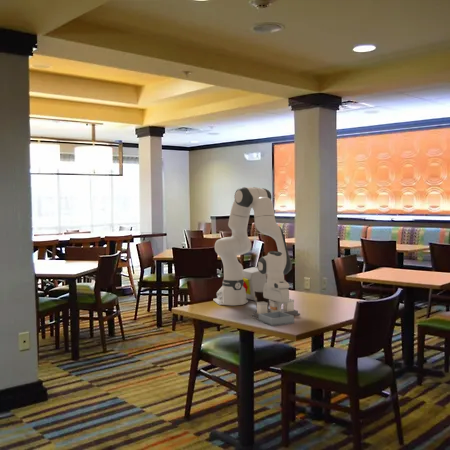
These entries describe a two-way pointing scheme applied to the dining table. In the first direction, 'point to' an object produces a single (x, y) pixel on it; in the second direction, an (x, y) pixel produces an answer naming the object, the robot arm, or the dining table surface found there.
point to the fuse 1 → (262, 307)
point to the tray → (276, 318)
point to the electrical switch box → (253, 281)
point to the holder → (293, 313)
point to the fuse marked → (273, 306)
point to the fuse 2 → (289, 305)
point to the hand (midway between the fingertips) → (275, 309)
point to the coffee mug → (260, 297)
